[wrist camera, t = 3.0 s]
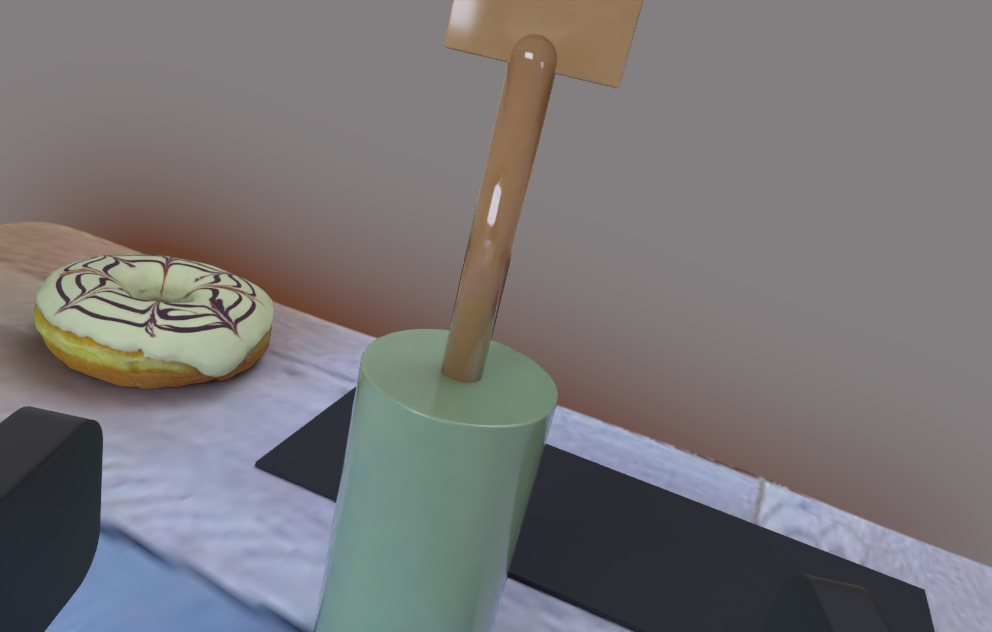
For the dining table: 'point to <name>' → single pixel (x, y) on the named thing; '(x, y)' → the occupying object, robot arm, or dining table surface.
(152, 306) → the decorated donut
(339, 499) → the spatula crock
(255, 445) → the dining table surface
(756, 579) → the mat
